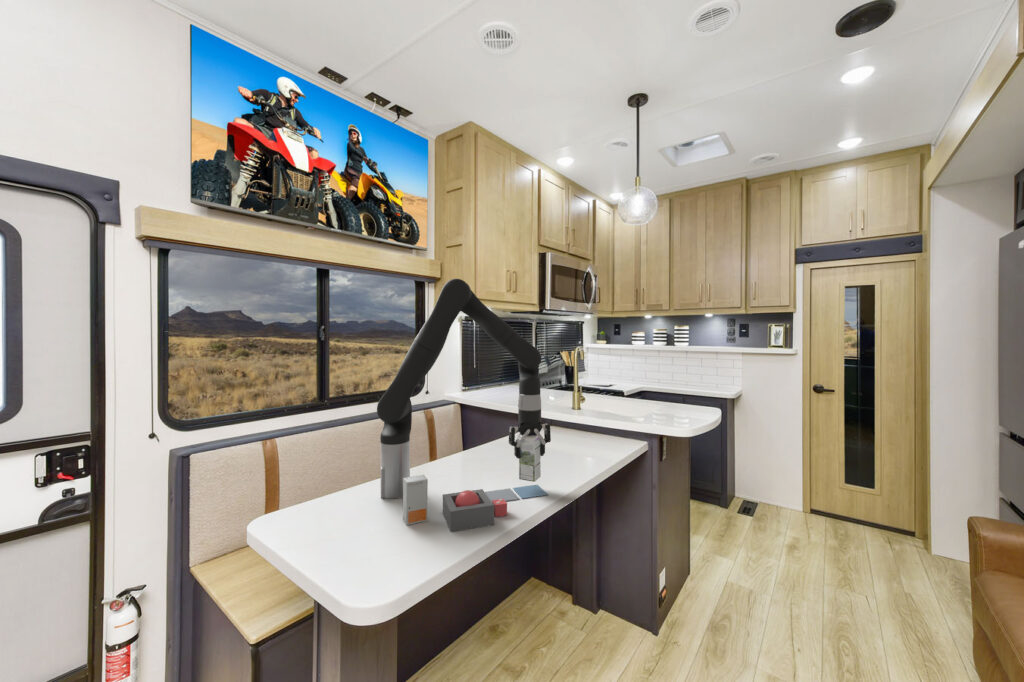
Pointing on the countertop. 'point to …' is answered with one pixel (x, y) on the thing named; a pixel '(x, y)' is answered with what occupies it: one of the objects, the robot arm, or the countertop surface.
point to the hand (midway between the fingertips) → (529, 456)
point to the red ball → (467, 499)
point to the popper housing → (472, 512)
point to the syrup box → (530, 458)
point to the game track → (521, 491)
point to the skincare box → (415, 499)
